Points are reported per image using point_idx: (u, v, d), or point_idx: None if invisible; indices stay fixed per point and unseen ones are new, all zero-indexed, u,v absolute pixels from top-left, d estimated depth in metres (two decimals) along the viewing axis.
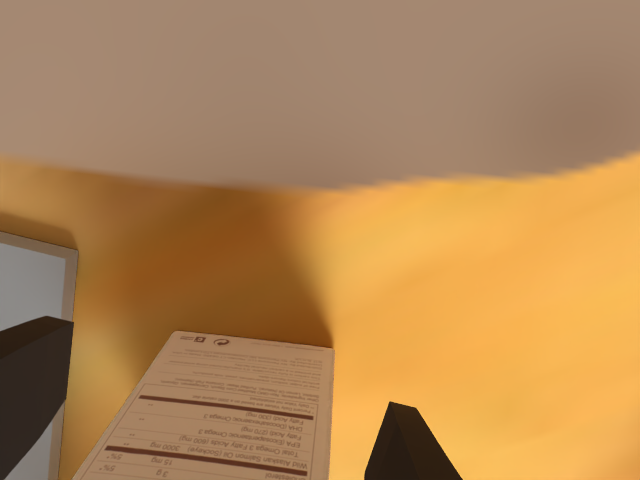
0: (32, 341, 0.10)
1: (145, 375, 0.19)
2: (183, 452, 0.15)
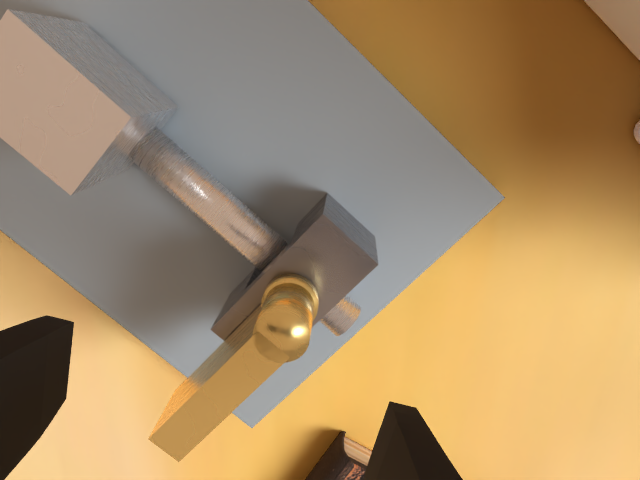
0: (32, 340, 0.10)
1: None
2: None
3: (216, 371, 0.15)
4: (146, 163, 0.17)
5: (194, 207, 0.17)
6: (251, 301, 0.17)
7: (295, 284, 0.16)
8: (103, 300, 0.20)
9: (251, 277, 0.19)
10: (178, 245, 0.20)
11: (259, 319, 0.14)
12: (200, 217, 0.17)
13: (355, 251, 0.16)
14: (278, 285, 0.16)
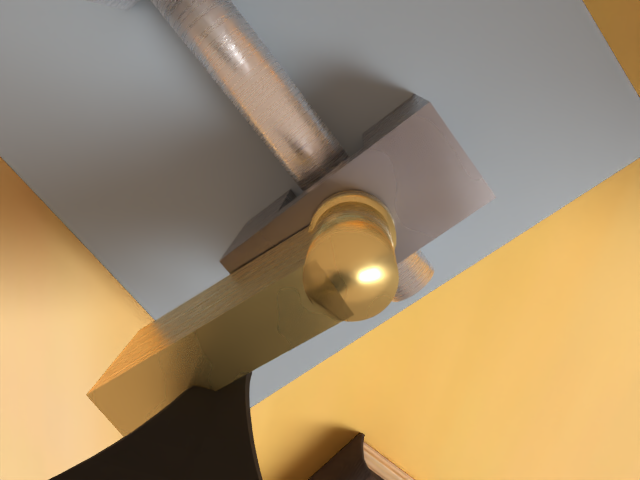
0: (232, 391, 0.10)
1: None
2: None
3: (226, 311, 0.09)
4: None
5: (223, 71, 0.11)
6: (289, 226, 0.11)
7: (371, 207, 0.10)
8: (64, 205, 0.14)
9: (285, 199, 0.13)
10: (184, 140, 0.14)
11: (323, 240, 0.08)
12: (229, 91, 0.11)
13: (466, 171, 0.10)
14: (346, 202, 0.10)
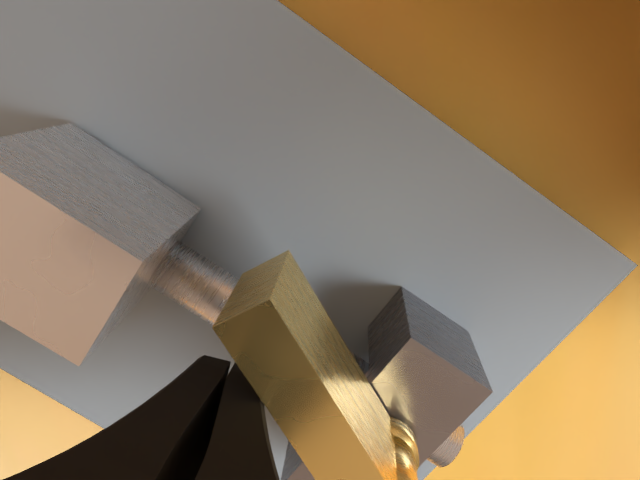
0: (213, 386, 0.10)
1: None
2: None
3: (359, 440, 0.10)
4: (171, 291, 0.13)
5: None
6: None
7: None
8: None
9: None
10: None
11: None
12: None
13: (459, 379, 0.12)
14: (416, 465, 0.12)
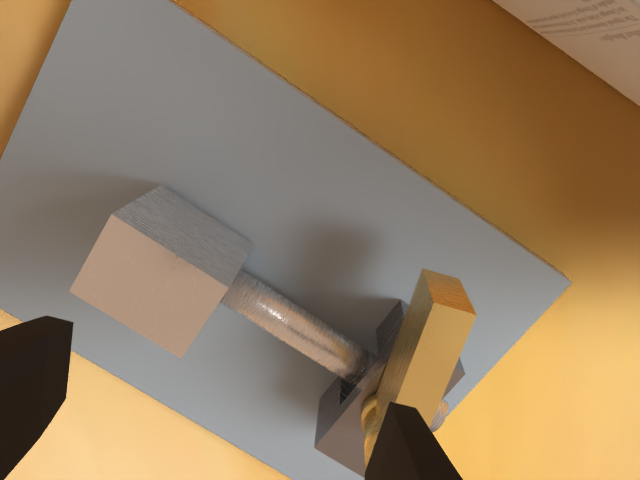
0: (32, 340, 0.10)
1: None
2: None
3: (434, 412, 0.15)
4: (235, 305, 0.18)
5: (283, 337, 0.19)
6: (349, 419, 0.18)
7: None
8: (203, 418, 0.22)
9: (340, 387, 0.20)
10: (266, 362, 0.21)
11: None
12: (289, 344, 0.19)
13: None
14: None
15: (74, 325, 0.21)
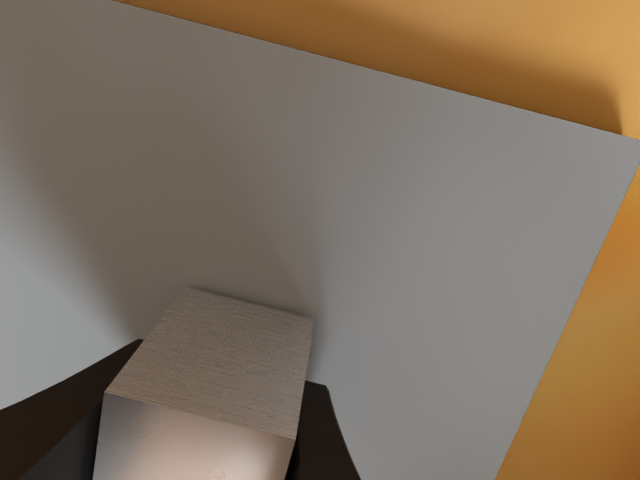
0: None
1: None
2: None
3: None
4: None
5: None
6: None
7: None
8: None
9: None
10: None
11: None
12: None
13: None
14: None
15: (1, 225, 0.12)
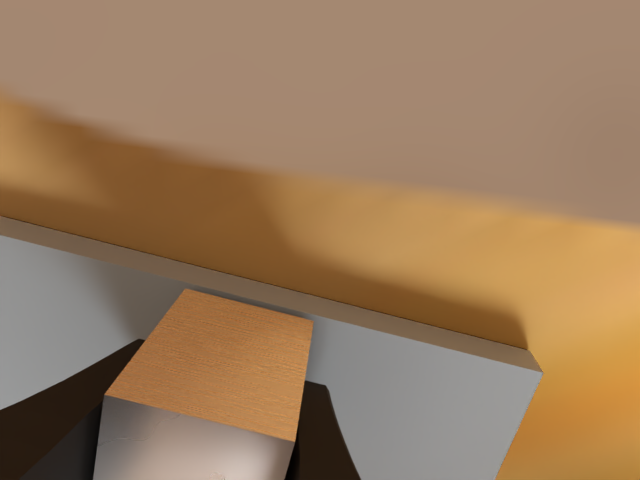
0: None
1: None
2: None
3: None
4: None
5: None
6: None
7: None
8: None
9: None
10: None
11: None
12: None
13: None
14: None
15: None
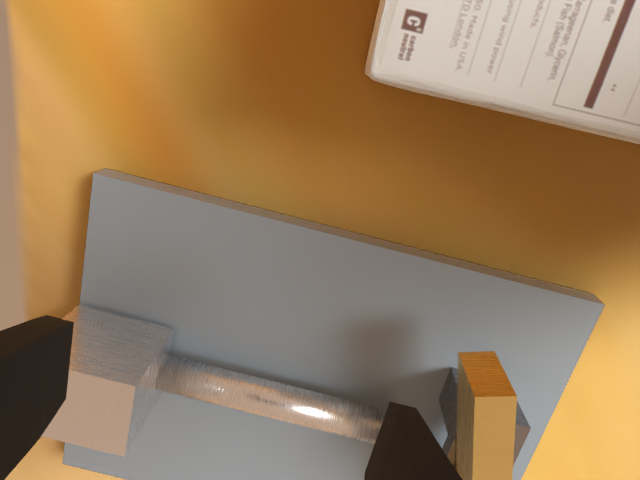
0: (32, 341, 0.10)
1: (527, 107, 0.12)
2: None
3: None
4: (170, 390, 0.20)
5: (222, 404, 0.20)
6: None
7: None
8: None
9: None
10: (351, 455, 0.23)
11: None
12: (231, 408, 0.20)
13: None
14: None
15: (177, 472, 0.23)
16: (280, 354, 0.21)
